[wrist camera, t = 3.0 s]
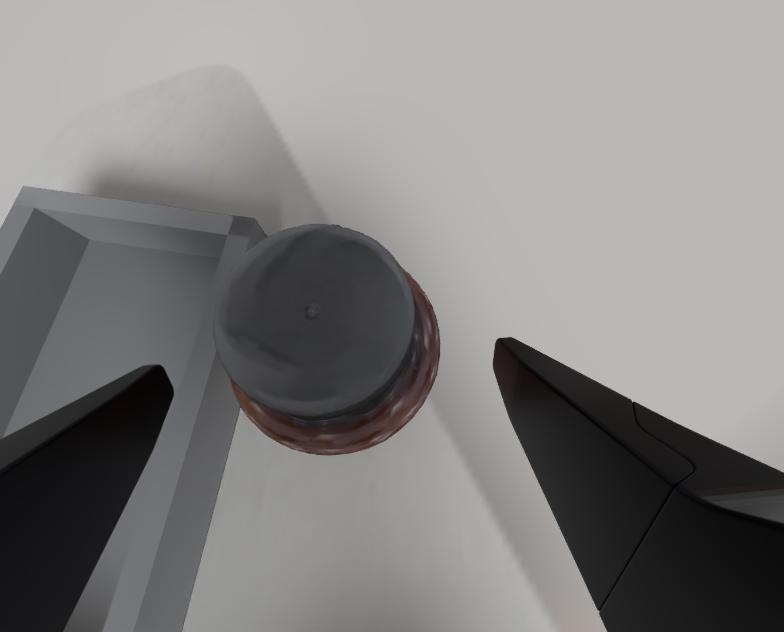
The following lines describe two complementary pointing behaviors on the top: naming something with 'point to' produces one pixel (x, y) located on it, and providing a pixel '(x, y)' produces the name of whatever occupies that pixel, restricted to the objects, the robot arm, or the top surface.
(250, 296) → the supplement bottle
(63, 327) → the tray
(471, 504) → the top surface
